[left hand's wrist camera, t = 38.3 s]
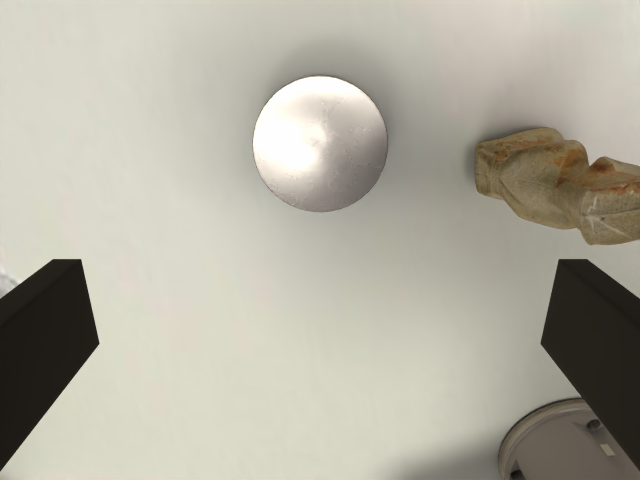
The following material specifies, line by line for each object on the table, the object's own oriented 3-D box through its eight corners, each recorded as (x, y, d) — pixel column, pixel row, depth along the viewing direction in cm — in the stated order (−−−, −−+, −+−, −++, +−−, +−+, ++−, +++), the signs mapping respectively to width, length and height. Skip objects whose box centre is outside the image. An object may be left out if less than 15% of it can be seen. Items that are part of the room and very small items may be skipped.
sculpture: (549, 187, 38) (682, 261, 24) (463, 196, 38) (545, 274, 24) (555, 116, 36) (705, 153, 22) (464, 126, 36) (555, 168, 22)
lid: (233, 110, 36) (228, 113, 34) (354, 51, 34) (356, 50, 32) (290, 221, 39) (289, 231, 37) (402, 173, 38) (407, 180, 35)
